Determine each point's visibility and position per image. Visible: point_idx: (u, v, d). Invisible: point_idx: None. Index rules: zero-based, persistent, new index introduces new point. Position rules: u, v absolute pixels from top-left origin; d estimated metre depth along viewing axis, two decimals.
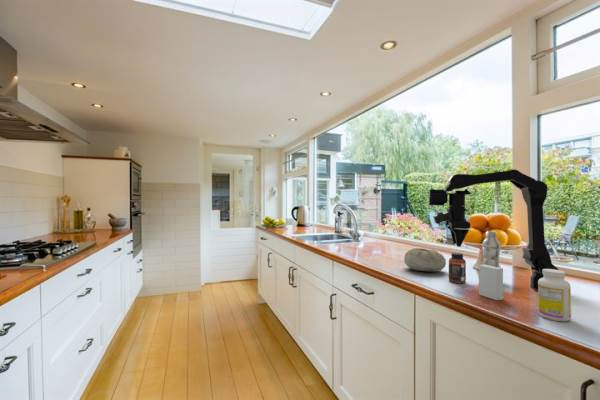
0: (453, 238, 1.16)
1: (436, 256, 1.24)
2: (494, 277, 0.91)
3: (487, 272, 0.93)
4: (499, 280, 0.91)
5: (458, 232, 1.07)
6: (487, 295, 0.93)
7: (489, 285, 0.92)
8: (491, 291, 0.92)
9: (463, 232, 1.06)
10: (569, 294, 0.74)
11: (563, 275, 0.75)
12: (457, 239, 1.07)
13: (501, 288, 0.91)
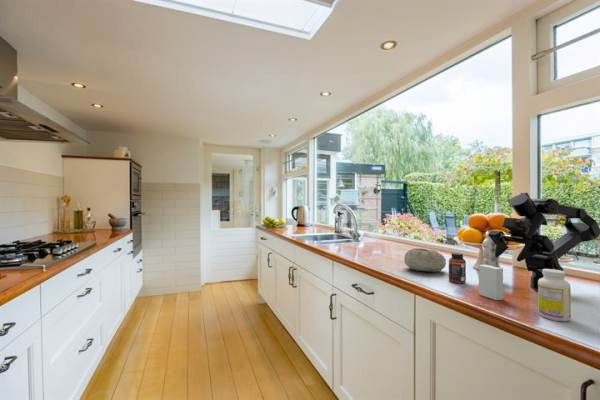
0: (498, 251, 1.00)
1: (436, 256, 1.24)
2: (494, 277, 0.91)
3: (487, 272, 0.93)
4: (499, 280, 0.91)
5: (529, 248, 0.93)
6: (487, 295, 0.93)
7: (489, 285, 0.92)
8: (491, 291, 0.92)
9: (533, 251, 0.92)
10: (569, 294, 0.74)
11: (563, 275, 0.75)
12: (524, 253, 0.92)
13: (501, 288, 0.91)
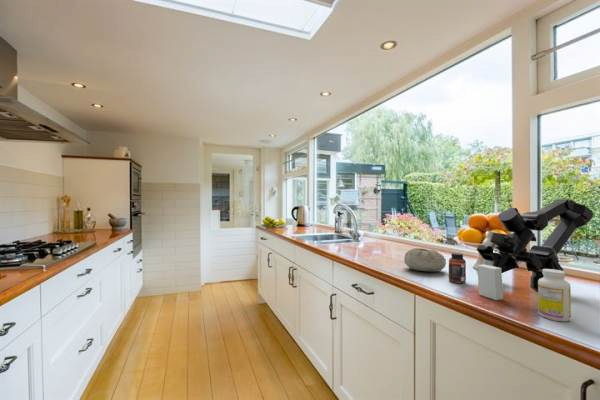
0: None
1: (436, 256, 1.24)
2: (493, 277, 0.91)
3: (486, 272, 0.93)
4: (498, 280, 0.90)
5: (506, 262, 0.94)
6: (487, 295, 0.93)
7: (489, 285, 0.92)
8: (491, 291, 0.92)
9: (509, 266, 0.94)
10: (569, 294, 0.74)
11: (563, 275, 0.75)
12: None
13: (500, 287, 0.91)
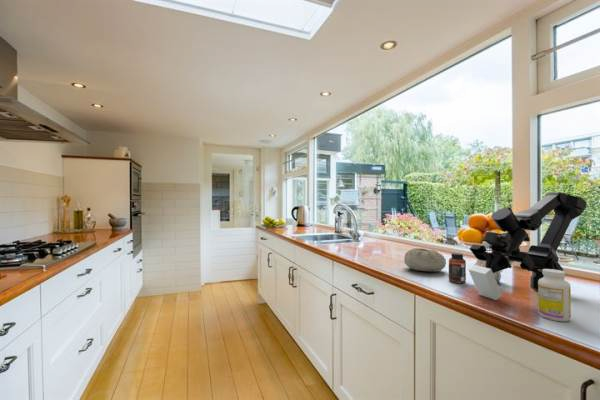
0: None
1: (436, 256, 1.24)
2: (486, 280, 0.90)
3: (478, 276, 0.92)
4: (491, 281, 0.90)
5: (498, 262, 0.93)
6: (486, 295, 0.93)
7: (485, 287, 0.92)
8: (488, 292, 0.91)
9: (502, 265, 0.93)
10: (569, 294, 0.74)
11: (563, 275, 0.75)
12: (493, 267, 0.92)
13: (496, 286, 0.90)
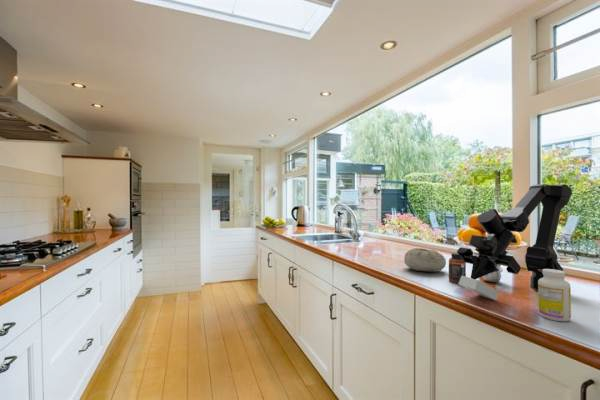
0: None
1: (436, 256, 1.24)
2: (479, 291, 0.89)
3: (470, 288, 0.91)
4: (484, 289, 0.89)
5: (485, 266, 0.91)
6: (486, 296, 0.93)
7: (480, 293, 0.91)
8: (486, 296, 0.91)
9: (489, 269, 0.91)
10: (569, 294, 0.74)
11: (563, 275, 0.75)
12: (479, 271, 0.90)
13: (490, 289, 0.89)
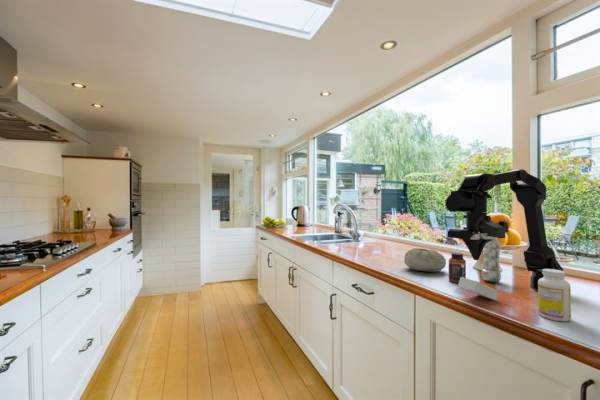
0: None
1: (436, 256, 1.24)
2: (478, 293, 0.89)
3: (469, 290, 0.91)
4: (483, 290, 0.88)
5: None
6: (486, 296, 0.93)
7: (480, 294, 0.91)
8: (486, 296, 0.91)
9: None
10: (569, 294, 0.74)
11: (563, 275, 0.75)
12: None
13: (489, 290, 0.89)
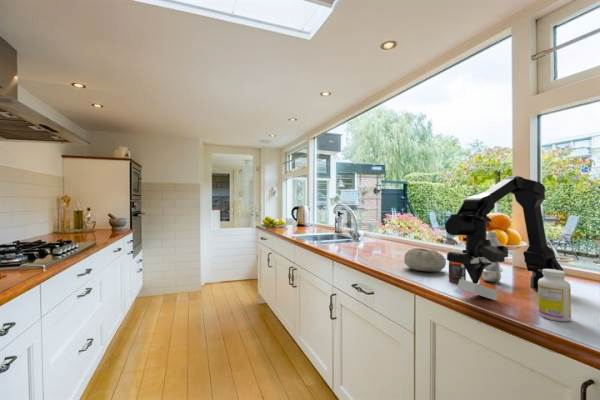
0: None
1: (436, 256, 1.24)
2: (478, 294, 0.89)
3: None
4: (483, 291, 0.88)
5: None
6: None
7: None
8: None
9: None
10: (569, 294, 0.74)
11: (563, 275, 0.75)
12: None
13: (489, 291, 0.89)
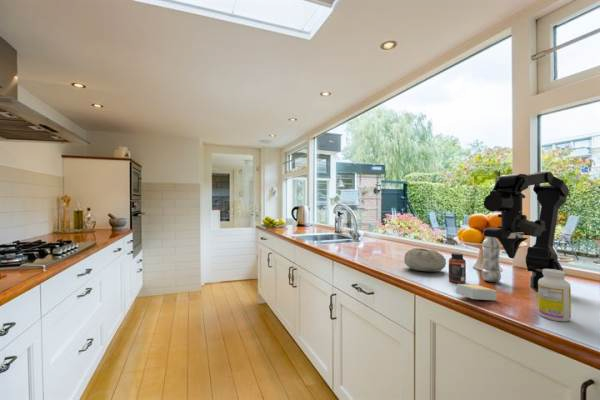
0: None
1: (436, 256, 1.24)
2: (477, 298, 0.88)
3: None
4: (482, 295, 0.88)
5: None
6: None
7: None
8: None
9: None
10: (569, 294, 0.74)
11: (563, 275, 0.75)
12: None
13: (488, 293, 0.89)
